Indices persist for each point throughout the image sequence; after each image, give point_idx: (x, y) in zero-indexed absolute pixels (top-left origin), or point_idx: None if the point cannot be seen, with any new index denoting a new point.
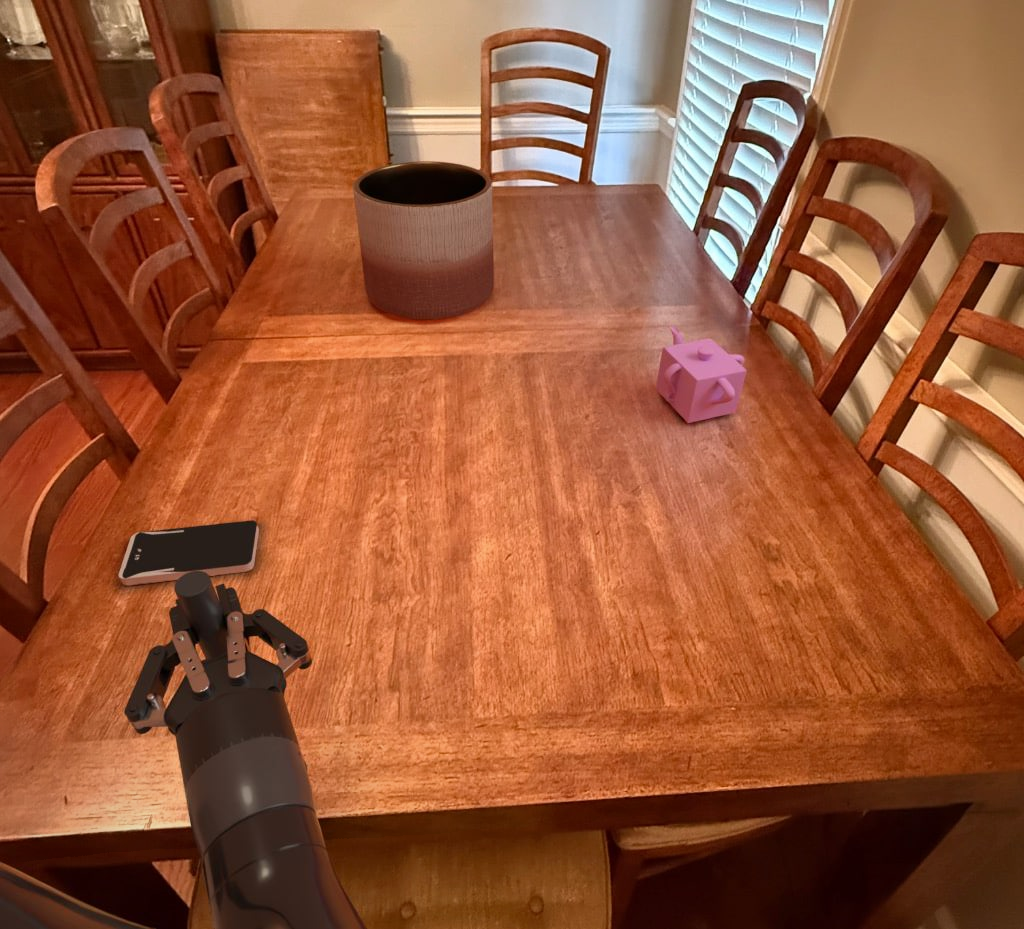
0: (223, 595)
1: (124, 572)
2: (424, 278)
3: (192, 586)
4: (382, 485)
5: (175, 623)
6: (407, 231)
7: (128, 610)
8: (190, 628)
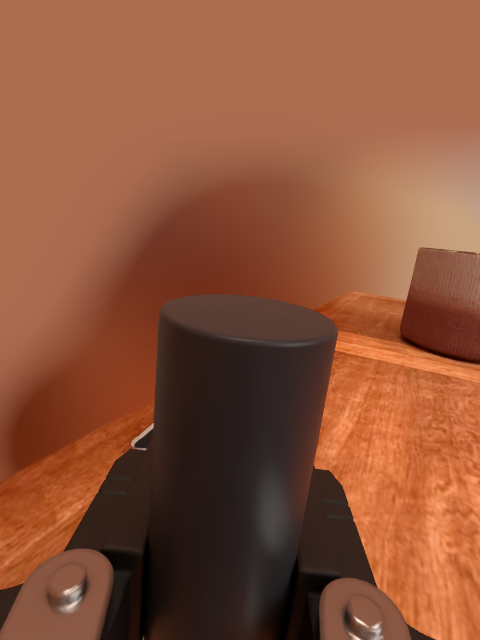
0: None
1: (138, 441)
2: (470, 318)
3: (247, 317)
4: (444, 472)
5: (106, 505)
6: (468, 275)
7: None
8: (138, 560)
